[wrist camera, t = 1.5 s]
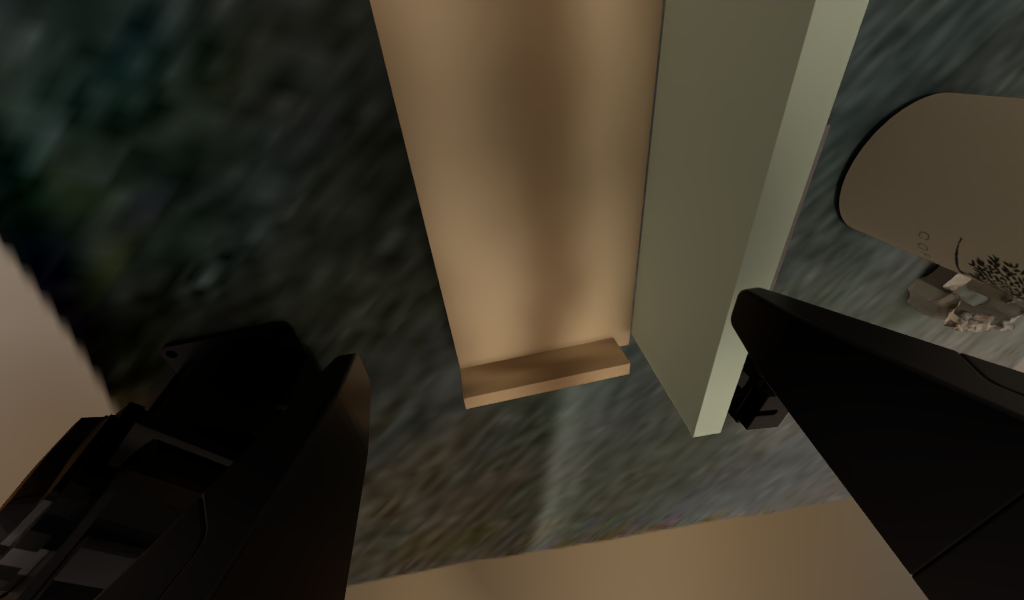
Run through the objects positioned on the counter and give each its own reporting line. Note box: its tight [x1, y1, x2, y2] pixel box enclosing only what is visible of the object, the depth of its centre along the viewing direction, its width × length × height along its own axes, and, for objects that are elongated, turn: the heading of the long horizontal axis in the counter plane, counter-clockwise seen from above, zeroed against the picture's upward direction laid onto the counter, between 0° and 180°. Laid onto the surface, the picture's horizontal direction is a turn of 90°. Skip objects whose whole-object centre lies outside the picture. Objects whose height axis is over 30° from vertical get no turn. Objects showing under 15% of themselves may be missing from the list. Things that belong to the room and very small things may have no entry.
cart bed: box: [370, 0, 663, 409], centre depth 17 cm, size 10×20×5 cm, turn 6°
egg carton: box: [907, 265, 1024, 332], centre depth 28 cm, size 11×8×4 cm
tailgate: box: [631, 0, 869, 437], centre depth 14 cm, size 2×18×7 cm, turn 6°
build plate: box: [728, 353, 788, 430], centre depth 30 cm, size 12×7×5 cm, turn 173°
